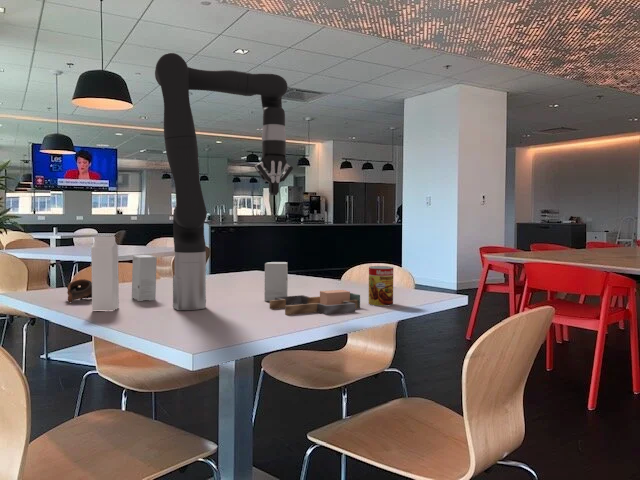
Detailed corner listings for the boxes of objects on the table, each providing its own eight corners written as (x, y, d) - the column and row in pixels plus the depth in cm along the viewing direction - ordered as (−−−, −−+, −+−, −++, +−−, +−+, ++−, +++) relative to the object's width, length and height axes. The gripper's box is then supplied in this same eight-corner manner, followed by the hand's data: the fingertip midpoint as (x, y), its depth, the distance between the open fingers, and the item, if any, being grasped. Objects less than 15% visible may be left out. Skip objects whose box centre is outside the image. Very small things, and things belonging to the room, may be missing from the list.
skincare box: (131, 298, 177) (130, 255, 176) (148, 297, 181) (148, 254, 180) (139, 301, 170) (138, 256, 170) (157, 300, 174) (157, 255, 173)
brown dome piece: (105, 301, 174) (100, 281, 170) (83, 317, 167) (77, 297, 163) (79, 290, 179) (74, 270, 174) (56, 305, 172) (50, 285, 167)
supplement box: (286, 301, 171) (286, 263, 171) (263, 301, 172) (263, 263, 171) (288, 298, 179) (288, 261, 178) (266, 298, 179) (266, 261, 178)
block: (326, 309, 158) (326, 293, 157) (319, 306, 162) (319, 291, 162) (349, 307, 161) (350, 291, 161) (342, 305, 165) (342, 289, 165)
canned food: (381, 307, 161) (382, 268, 161) (363, 303, 167) (363, 266, 167) (398, 304, 167) (398, 267, 166) (379, 301, 172) (380, 265, 172)
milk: (98, 308, 157) (97, 236, 157) (119, 308, 158) (118, 235, 157) (91, 311, 151) (90, 236, 150) (113, 311, 152) (112, 236, 151)
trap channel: (294, 317, 143) (294, 303, 143) (263, 306, 162) (263, 293, 162) (369, 310, 155) (369, 297, 155) (332, 300, 174) (332, 288, 174)
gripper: (259, 137, 159) (259, 194, 159) (297, 140, 165) (297, 195, 166) (250, 140, 165) (250, 194, 166) (287, 143, 172) (287, 196, 172)
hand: (273, 194), depth 166 cm, fingers closed
